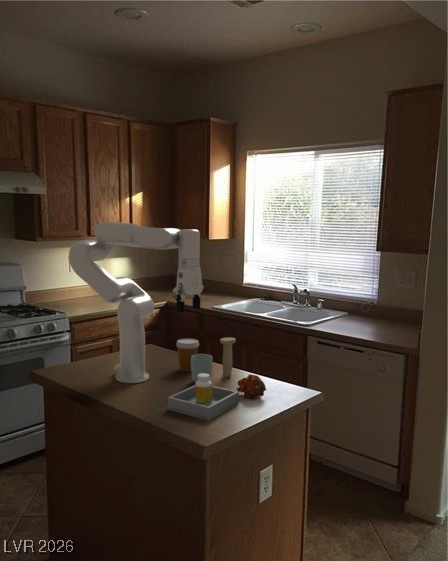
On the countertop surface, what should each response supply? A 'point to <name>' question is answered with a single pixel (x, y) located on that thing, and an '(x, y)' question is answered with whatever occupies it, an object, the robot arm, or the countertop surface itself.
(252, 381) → the dragon fruit
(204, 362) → the cup
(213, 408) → the box
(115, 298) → the robot arm
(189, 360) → the disposable coffee cup
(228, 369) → the handle
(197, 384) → the supplement bottle
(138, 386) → the countertop surface
